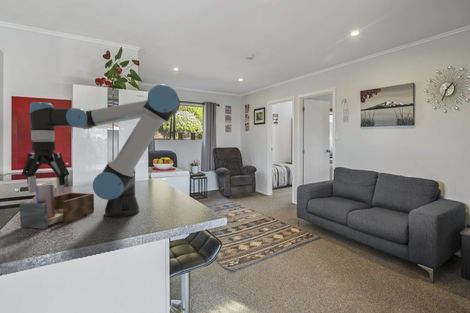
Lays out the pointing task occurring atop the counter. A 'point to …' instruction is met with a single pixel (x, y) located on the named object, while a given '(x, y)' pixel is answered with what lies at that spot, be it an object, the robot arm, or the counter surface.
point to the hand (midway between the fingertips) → (46, 192)
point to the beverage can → (46, 197)
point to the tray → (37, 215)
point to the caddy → (74, 205)
